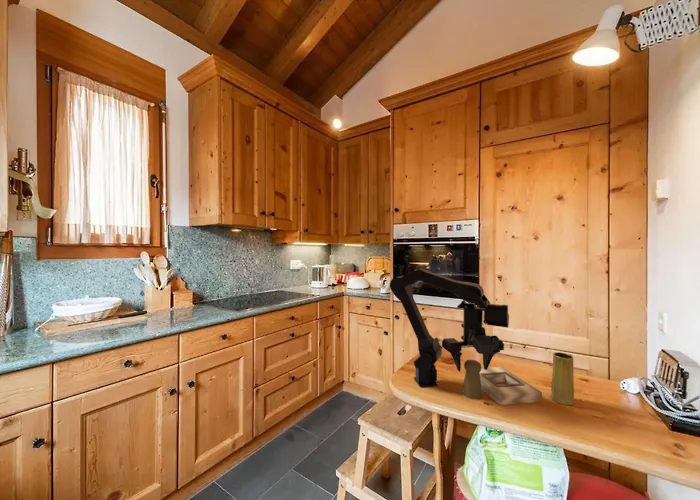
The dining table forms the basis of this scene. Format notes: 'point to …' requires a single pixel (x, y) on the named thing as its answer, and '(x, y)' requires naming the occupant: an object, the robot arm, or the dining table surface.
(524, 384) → the socket board
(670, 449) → the dining table surface
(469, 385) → the olive tall rounded piece
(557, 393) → the vase
